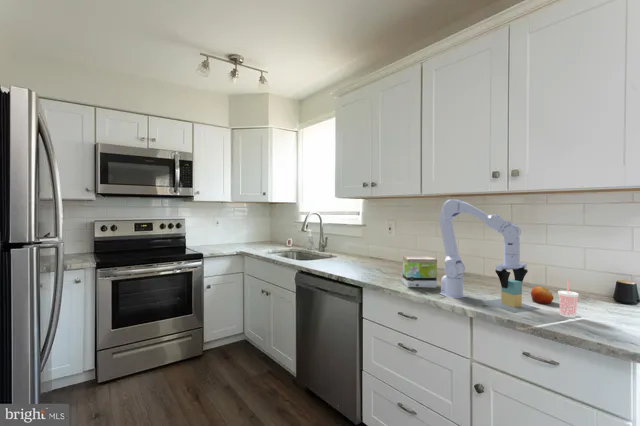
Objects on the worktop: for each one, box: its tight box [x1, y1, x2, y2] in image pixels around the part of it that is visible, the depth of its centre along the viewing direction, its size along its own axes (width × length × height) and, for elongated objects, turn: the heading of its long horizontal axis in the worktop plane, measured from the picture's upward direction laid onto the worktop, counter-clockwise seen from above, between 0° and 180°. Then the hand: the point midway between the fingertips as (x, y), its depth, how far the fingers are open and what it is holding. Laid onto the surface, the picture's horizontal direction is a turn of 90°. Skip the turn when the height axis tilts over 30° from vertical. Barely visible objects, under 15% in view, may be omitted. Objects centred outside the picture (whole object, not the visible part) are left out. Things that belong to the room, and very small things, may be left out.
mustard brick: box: [500, 290, 523, 307], centre depth 136 cm, size 6×4×5 cm, turn 20°
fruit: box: [530, 285, 554, 305], centre depth 140 cm, size 8×8×8 cm
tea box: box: [402, 255, 438, 289], centre depth 172 cm, size 15×10×15 cm, turn 91°
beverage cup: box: [557, 278, 579, 320], centre depth 123 cm, size 6×6×14 cm
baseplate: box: [480, 298, 541, 314], centre depth 136 cm, size 16×14×1 cm
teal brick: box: [501, 278, 523, 295], centre depth 136 cm, size 6×4×5 cm, turn 20°
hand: (511, 287), depth 136 cm, fingers open, 7 cm apart
